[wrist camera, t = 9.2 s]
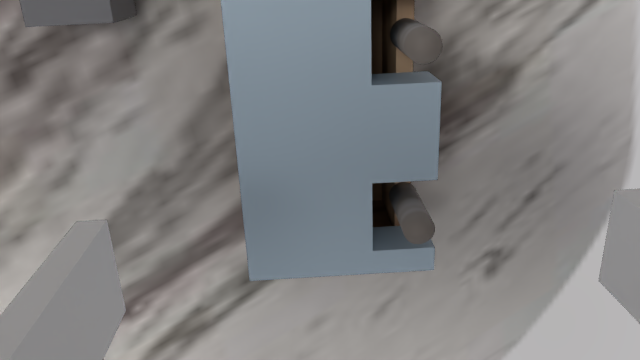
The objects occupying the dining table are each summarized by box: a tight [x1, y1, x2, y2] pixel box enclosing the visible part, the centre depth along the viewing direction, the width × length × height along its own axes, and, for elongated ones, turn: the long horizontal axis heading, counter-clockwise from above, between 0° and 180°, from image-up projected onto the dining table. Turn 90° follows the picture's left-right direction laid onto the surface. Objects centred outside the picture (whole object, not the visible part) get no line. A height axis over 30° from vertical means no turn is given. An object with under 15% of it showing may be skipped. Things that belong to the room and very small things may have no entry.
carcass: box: [371, 0, 442, 244], centre depth 27 cm, size 14×8×9 cm, turn 2°
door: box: [221, 0, 442, 281], centre depth 25 cm, size 14×9×2 cm, turn 2°
